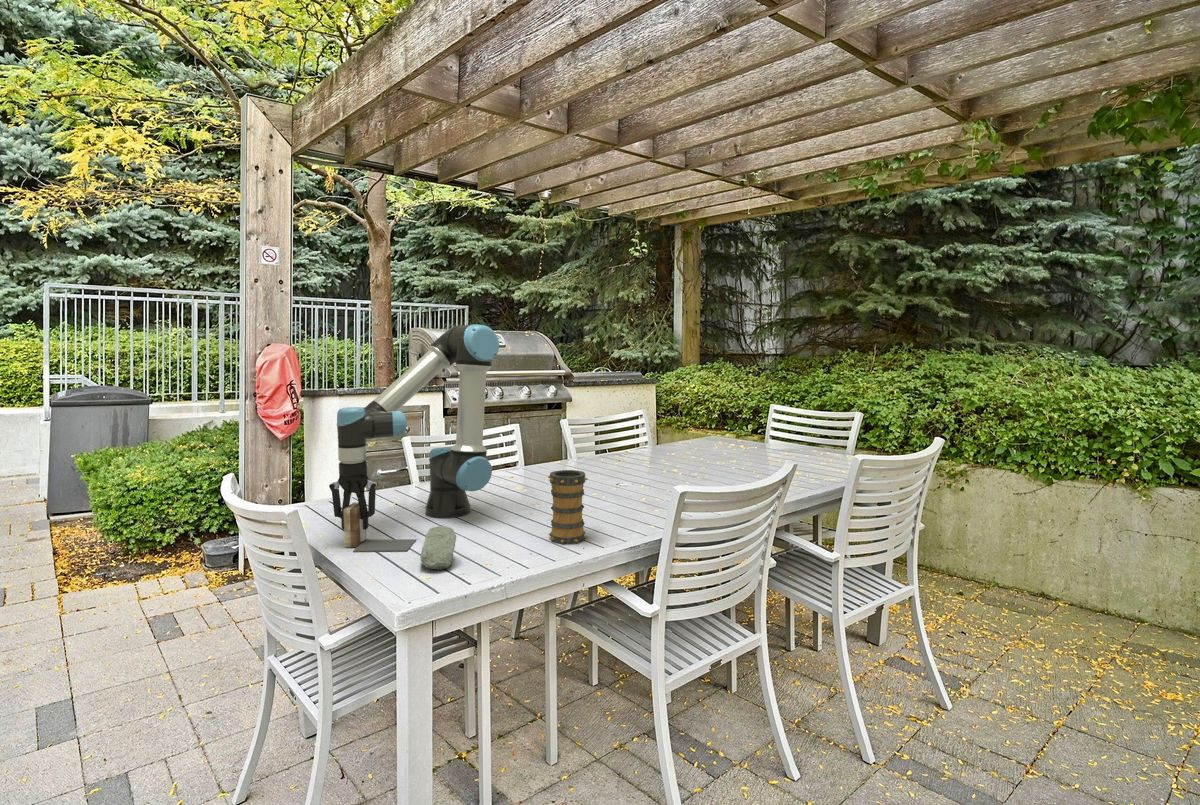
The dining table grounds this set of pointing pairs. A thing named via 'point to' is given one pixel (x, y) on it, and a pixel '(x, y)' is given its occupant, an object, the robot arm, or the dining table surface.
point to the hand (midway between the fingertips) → (355, 539)
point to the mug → (567, 506)
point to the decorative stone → (438, 547)
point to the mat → (385, 545)
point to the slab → (352, 525)
